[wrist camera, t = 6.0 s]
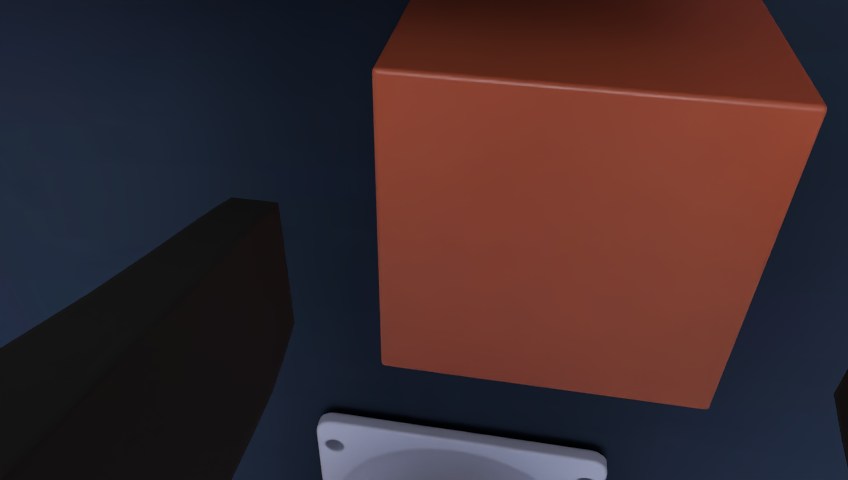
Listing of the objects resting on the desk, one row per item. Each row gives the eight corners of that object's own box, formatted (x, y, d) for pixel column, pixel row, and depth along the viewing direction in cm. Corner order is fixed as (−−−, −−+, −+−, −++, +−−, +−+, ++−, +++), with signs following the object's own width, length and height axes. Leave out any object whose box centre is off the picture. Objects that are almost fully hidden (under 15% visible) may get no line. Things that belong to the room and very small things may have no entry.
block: (673, 218, 14) (709, 412, 11) (431, 192, 15) (380, 366, 11) (744, -34, 11) (831, 106, 8) (436, -53, 12) (370, 68, 8)
